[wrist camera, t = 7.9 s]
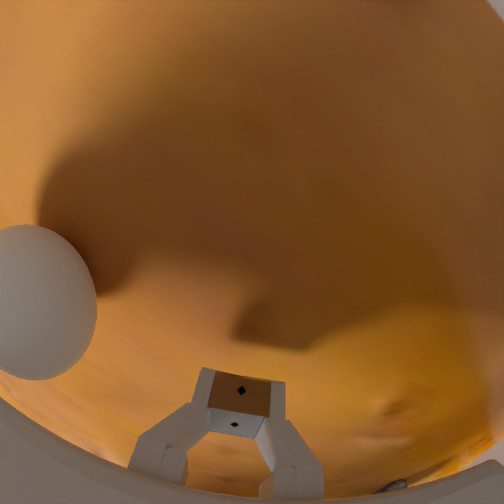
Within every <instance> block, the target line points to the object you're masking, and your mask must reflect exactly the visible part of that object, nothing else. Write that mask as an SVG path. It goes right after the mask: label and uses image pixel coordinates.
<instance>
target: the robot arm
mask: <svg viewBox="0 0 504 504" xmlns="http://www.w3.org/2000/svg"><path fill="white" fill-rule="evenodd" d="M208 431H211V432H217V433H223V434H229V435H235V436H240V437H246V438H252V439H254V441H255V443H256V445H257V447H258V449H259V451H260V452H261V454H262V456H263V458H264V460H265V462H266V464H267V466H268V467H269V469H270V471H271V474H270V475H269V476H268V477H267V478H266V479H265V480H264V481H263V482H262V483H261V484H260V485H259V493H258V498H254V497H244V496H236V495H229V494H223V493H217V492H211V491H206V490H201V489H196V488H192V487H187V486H185V485H186V480H187V475H188V465H187V454H186V452H187V451H189V450H190V449H191V448H192V447H193V446H194V445H195V444H196V443H197V442H198V441H200V440H201V439H202V438H203V437H204V436H205V435H206V434H207V433H208ZM0 504H504V466H503V465H502V464H501V463H499V462H498V461H496V460H494V459H491V460H487V461H485V462H483V463H481V464H478V465H476V466H473V467H471V468H469V469H466V470H464V471H461V472H458V473H455V474H452V475H450V476H447V477H444V478H440V479H437V480H434V481H431V482H427V483H424V484H420V485H416V486H412V487H408V488H404V489H399V490H394V491H389V492H384V493H378V494H371V495H364V496H357V497H347V498H336V499H324V474H323V466H322V464H321V463H320V462H319V460H318V459H317V458H316V456H315V455H314V454H313V452H312V451H311V450H310V448H309V447H308V446H307V444H306V443H305V442H304V440H303V439H302V437H301V436H300V435H299V433H298V432H297V430H296V429H295V428H294V426H293V425H292V423H291V422H290V421H289V420H285V382H280V381H273V380H268V379H261V378H255V377H248V376H240V375H235V374H230V373H226V372H221V371H217V370H213V369H208V368H204V367H202V369H201V371H200V374H199V377H198V381H197V384H196V388H195V391H194V395H193V398H192V402H191V403H186V404H184V405H183V406H182V407H180V408H179V409H177V410H176V411H175V412H173V413H172V414H170V415H169V416H168V417H166V418H165V419H163V420H162V421H161V422H159V423H158V424H156V425H155V426H153V427H152V428H151V429H149V430H148V431H146V432H145V433H143V434H142V435H140V436H139V438H138V441H137V443H136V446H135V449H134V451H133V454H132V457H131V460H130V462H129V465H128V468H125V467H123V466H120V465H118V464H115V463H113V462H110V461H108V460H106V459H103V458H101V457H99V456H96V455H94V454H92V453H90V452H88V451H86V450H84V449H82V448H80V447H78V446H76V445H74V444H72V443H70V442H68V441H66V440H65V439H63V438H61V437H59V436H57V435H56V434H54V433H52V432H51V431H49V430H47V429H46V428H44V427H42V426H41V425H39V424H38V423H36V422H35V421H33V420H32V419H30V418H29V417H27V416H26V415H24V414H23V413H21V412H20V411H18V410H17V409H16V408H14V407H13V406H12V405H10V404H9V403H8V402H6V401H5V400H4V399H2V398H1V397H0Z"/></svg>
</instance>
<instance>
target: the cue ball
mask: <svg viewBox="0 0 504 504" xmlns="http://www.w3.org/2000/svg"><path fill="white" fill-rule="evenodd" d="M96 319H97V299H96V292H95V287H94V283H93V280H92V277H91V275H90V272H89V270H88V267H87V266H86V264H85V262H84V260H83V259H82V257H81V256H80V254H79V253H78V252H77V250H76V249H75V248H74V247H73V246H72V245H71V244H70V243H69V242H68V241H67V240H66V239H65V238H63V237H62V236H60V235H59V234H57V233H55V232H54V231H52V230H49V229H47V228H44V227H40V226H37V225H29V224H25V225H15V226H11V227H7V228H5V229H3V230H1V231H0V369H2V370H3V371H5V372H7V373H8V374H10V375H13V376H15V377H18V378H22V379H26V380H47V379H50V378H54V377H56V376H59V375H61V374H63V373H65V372H66V371H68V370H69V369H70V368H72V367H73V366H74V365H75V364H76V363H77V362H78V361H79V360H80V359H81V357H82V356H83V354H84V353H85V352H86V350H87V348H88V346H89V344H90V342H91V340H92V337H93V334H94V330H95V325H96Z"/></svg>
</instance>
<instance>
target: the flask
mask: <svg viewBox="0 0 504 504" xmlns="http://www.w3.org/2000/svg"><path fill="white" fill-rule="evenodd" d="M402 480H404V481H402ZM402 480H401V481H395V482H394V483H391V484H388V485H386V487H384V488H382V489H380V490H378V491H377V492H376V493H372V494H378V493H384V492H389V491H394V490H399V489H404V488H407V481H406V479H402Z"/></svg>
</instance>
